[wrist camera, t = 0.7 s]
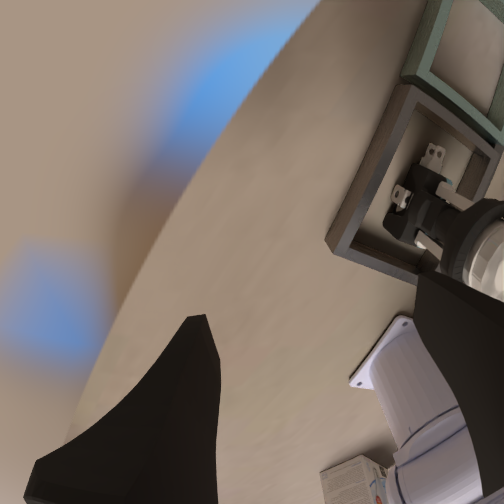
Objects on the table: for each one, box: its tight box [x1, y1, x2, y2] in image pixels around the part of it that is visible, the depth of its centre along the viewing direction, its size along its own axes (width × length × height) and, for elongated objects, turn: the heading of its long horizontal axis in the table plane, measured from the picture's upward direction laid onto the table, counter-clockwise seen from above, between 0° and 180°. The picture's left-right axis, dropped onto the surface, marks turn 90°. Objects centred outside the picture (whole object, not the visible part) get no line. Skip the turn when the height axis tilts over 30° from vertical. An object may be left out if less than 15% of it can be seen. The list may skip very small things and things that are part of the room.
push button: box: [383, 143, 504, 302], centre depth 14 cm, size 7×5×10 cm
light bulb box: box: [320, 455, 389, 504], centre depth 31 cm, size 11×7×11 cm, turn 40°
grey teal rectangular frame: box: [325, 0, 504, 286], centre depth 16 cm, size 9×22×2 cm, turn 159°
